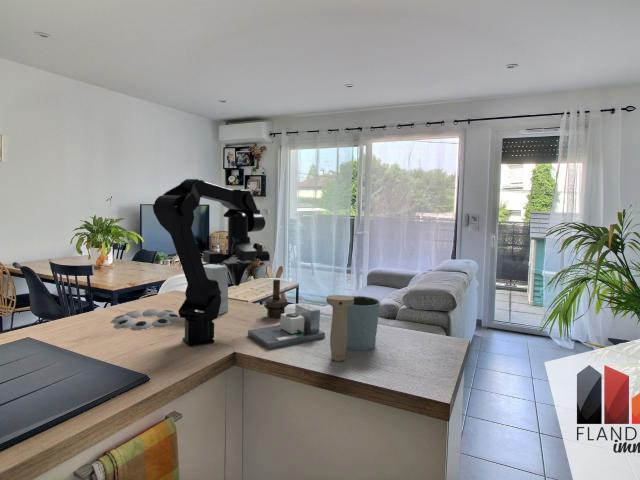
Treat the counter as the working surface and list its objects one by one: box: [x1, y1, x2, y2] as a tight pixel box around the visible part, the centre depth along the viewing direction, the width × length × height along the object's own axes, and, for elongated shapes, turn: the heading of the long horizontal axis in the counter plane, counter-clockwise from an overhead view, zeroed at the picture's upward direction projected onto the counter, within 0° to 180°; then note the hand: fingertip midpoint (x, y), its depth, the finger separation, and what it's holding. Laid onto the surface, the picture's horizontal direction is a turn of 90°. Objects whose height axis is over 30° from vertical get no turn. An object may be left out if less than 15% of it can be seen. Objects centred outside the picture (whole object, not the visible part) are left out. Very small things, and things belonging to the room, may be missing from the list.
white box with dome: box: [279, 311, 304, 334], centre depth 108 cm, size 6×8×4 cm, turn 36°
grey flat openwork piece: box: [111, 308, 182, 331], centre depth 119 cm, size 20×20×2 cm
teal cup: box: [346, 295, 381, 351], centre depth 103 cm, size 10×10×12 cm
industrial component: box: [263, 279, 289, 319], centre depth 127 cm, size 9×7×12 cm
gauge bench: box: [247, 303, 326, 350], centre depth 108 cm, size 18×12×8 cm
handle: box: [326, 294, 354, 363], centre depth 93 cm, size 5×6×15 cm
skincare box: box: [197, 263, 229, 316], centre depth 129 cm, size 8×7×16 cm
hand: (237, 285), depth 115 cm, fingers closed
